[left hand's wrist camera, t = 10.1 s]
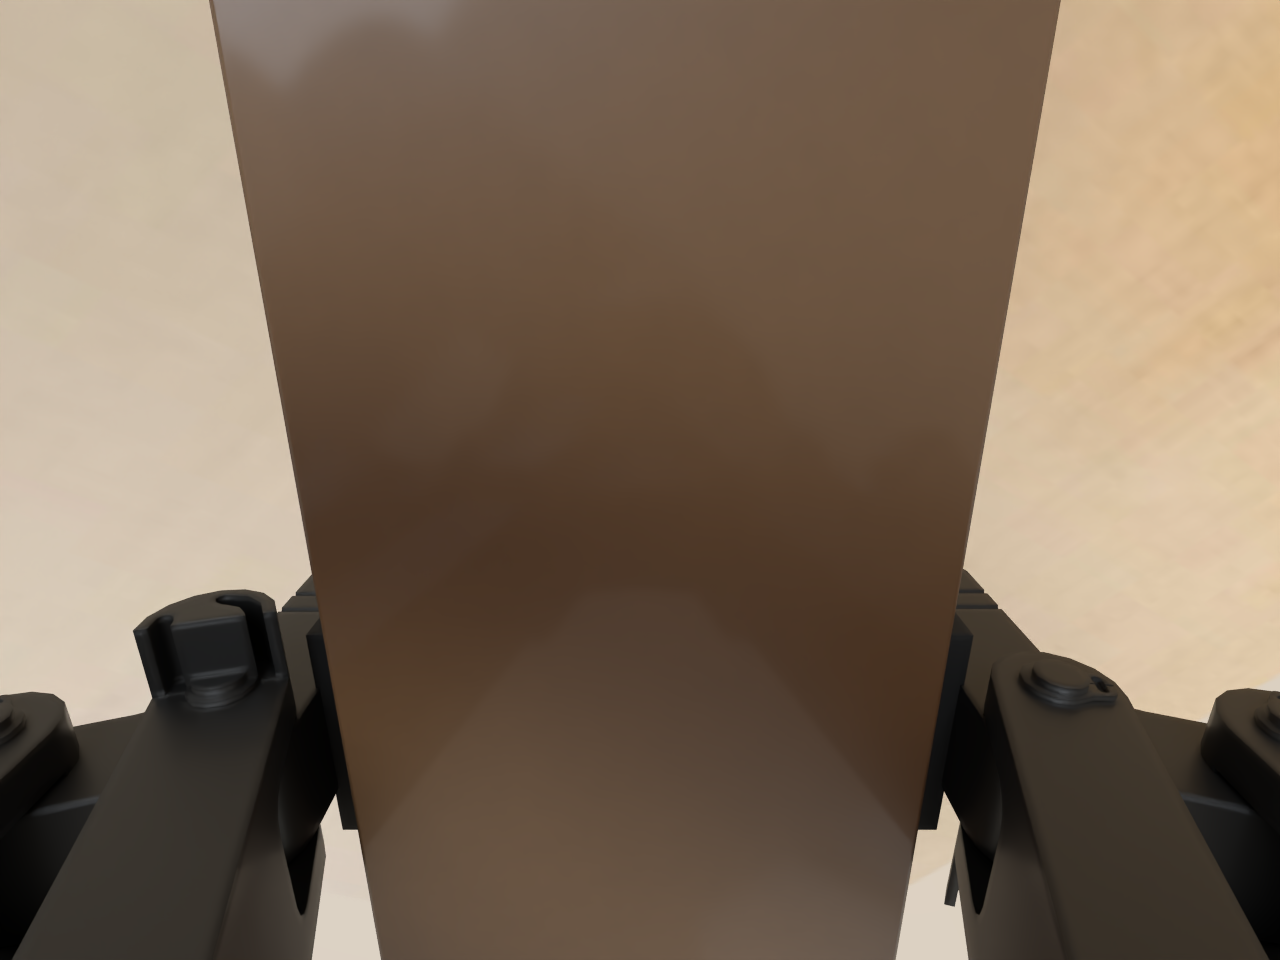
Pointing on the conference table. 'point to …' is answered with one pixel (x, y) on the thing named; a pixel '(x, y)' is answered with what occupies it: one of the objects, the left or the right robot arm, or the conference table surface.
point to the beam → (636, 440)
